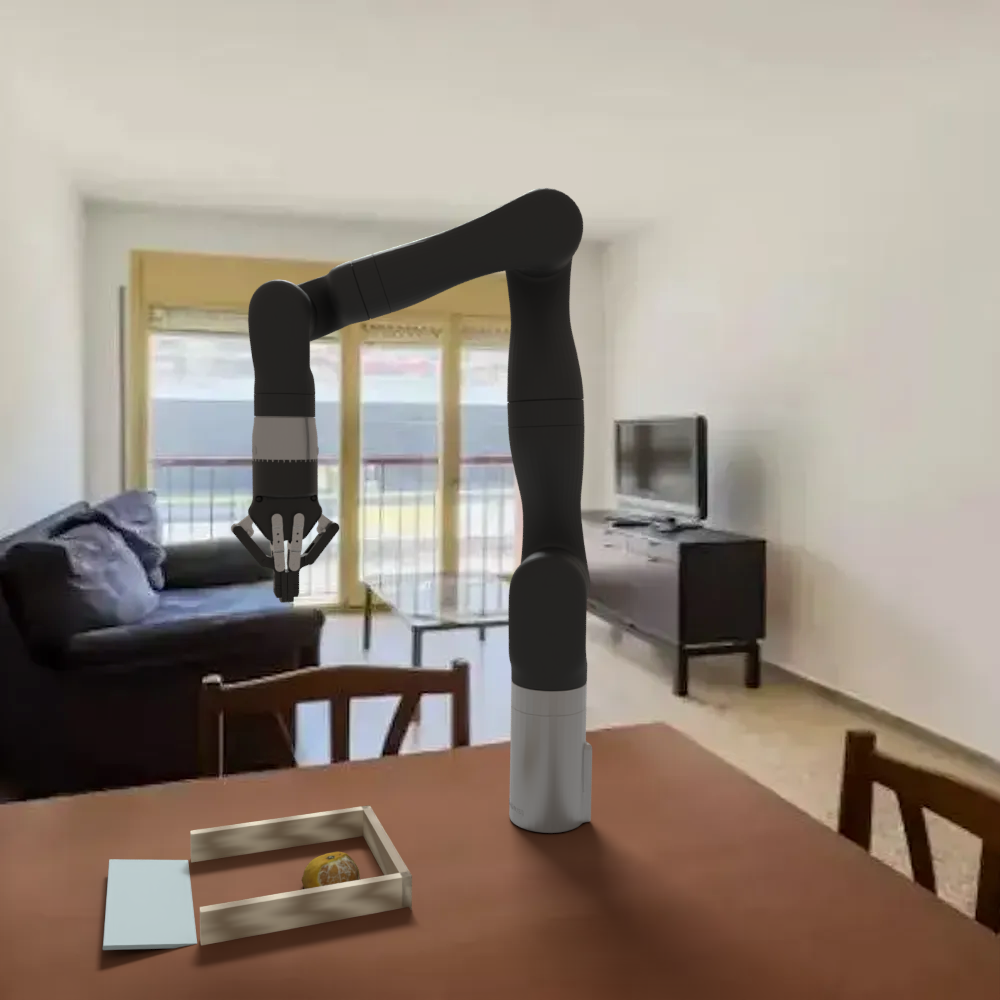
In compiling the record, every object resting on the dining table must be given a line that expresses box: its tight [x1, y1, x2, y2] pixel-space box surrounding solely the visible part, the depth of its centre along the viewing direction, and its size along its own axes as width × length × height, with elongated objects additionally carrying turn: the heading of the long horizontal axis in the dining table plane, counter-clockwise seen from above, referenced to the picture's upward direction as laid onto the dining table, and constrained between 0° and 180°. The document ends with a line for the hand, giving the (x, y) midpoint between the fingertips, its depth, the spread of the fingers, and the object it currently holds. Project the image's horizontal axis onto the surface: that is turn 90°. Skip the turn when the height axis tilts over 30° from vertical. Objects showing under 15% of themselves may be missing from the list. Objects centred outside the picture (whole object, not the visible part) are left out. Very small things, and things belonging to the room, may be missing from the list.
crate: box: [189, 804, 413, 946], centre depth 96 cm, size 20×18×4 cm
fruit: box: [301, 851, 361, 889], centre depth 94 cm, size 8×8×4 cm
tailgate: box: [102, 858, 198, 951], centre depth 91 cm, size 1×17×8 cm
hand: (286, 601), depth 109 cm, fingers closed
